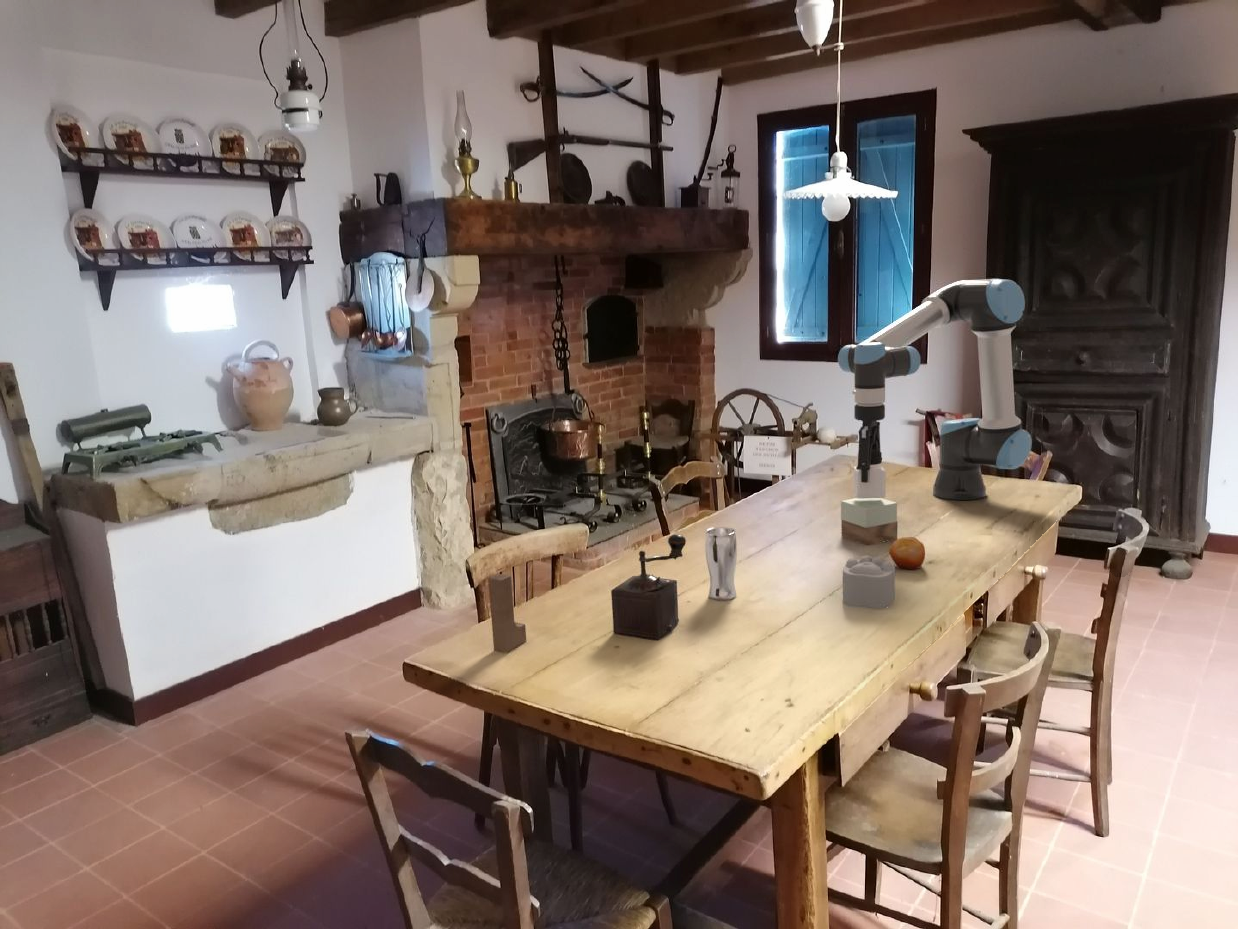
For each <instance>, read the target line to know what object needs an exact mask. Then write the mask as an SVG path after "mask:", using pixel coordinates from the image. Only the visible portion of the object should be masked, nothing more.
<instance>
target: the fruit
mask: <svg viewBox="0 0 1238 929" xmlns="http://www.w3.org/2000/svg"><path fill="white" fill-rule="evenodd" d="M888 553H889V555H890V558H891V560H892V561H893V563H894V565H895V566H896V567H897V568H898V569H903V570H911V569H912V570H918V569H920V568H921V567H922V565H923V563H924V561H925V558H926V550H925V546H924V543H923V542H921V541H920V540H919V538H916V537H914V536H907V537H906V536H905V537H904V536H903V537H901V538H897V539H895V540H894V541H893V542H892V543H891V545H890V547H889V549H888Z"/></svg>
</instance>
